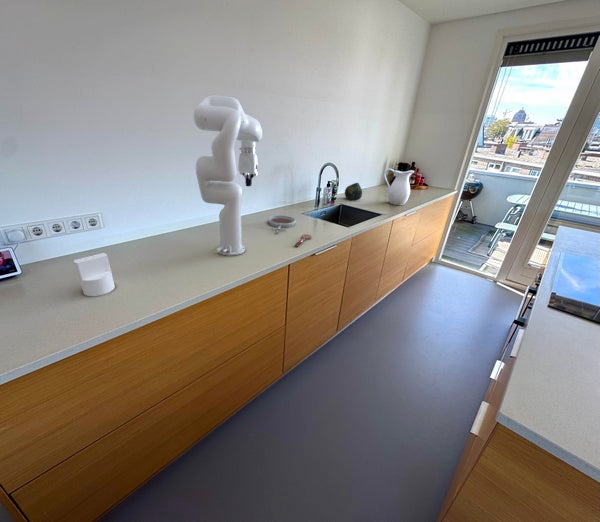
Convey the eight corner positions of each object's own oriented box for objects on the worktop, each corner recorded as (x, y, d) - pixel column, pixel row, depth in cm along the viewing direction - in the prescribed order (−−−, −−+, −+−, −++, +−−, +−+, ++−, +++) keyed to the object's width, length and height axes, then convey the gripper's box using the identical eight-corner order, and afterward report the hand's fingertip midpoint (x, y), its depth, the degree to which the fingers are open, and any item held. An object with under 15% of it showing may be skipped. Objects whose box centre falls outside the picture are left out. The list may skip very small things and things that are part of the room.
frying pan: (261, 228, 158) (270, 213, 183) (261, 233, 160) (270, 218, 184) (292, 231, 157) (297, 216, 182) (291, 236, 159) (296, 220, 184)
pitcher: (409, 203, 247) (417, 170, 235) (404, 207, 234) (412, 172, 222) (382, 198, 258) (388, 166, 246) (376, 202, 245) (382, 168, 232)
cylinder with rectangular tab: (108, 280, 105) (101, 250, 100) (119, 289, 100) (111, 258, 95) (79, 289, 98) (69, 257, 93) (89, 299, 94) (79, 266, 88)
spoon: (300, 248, 143) (300, 245, 142) (291, 246, 145) (291, 243, 144) (312, 237, 158) (312, 234, 158) (303, 235, 160) (304, 232, 159)
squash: (338, 191, 245) (351, 180, 235) (347, 190, 256) (359, 179, 246) (347, 205, 243) (360, 194, 233) (356, 203, 254) (368, 192, 244)
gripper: (232, 149, 151) (233, 185, 159) (257, 152, 147) (256, 188, 154) (240, 149, 158) (240, 183, 165) (264, 152, 153) (263, 186, 160)
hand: (248, 185), depth 160 cm, fingers closed
